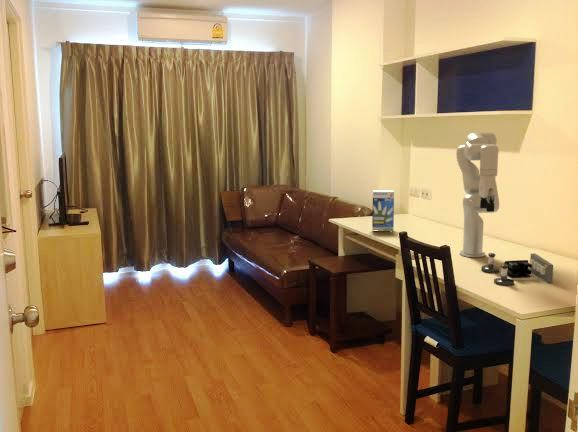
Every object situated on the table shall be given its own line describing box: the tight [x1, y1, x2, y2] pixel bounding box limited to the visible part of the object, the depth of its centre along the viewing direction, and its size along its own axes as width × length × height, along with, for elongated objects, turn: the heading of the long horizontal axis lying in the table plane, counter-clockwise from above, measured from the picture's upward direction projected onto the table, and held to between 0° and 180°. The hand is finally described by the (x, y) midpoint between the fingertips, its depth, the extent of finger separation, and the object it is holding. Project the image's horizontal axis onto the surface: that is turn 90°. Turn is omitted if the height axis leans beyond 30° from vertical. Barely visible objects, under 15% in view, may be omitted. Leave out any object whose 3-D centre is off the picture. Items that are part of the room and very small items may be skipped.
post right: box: [493, 263, 515, 287], centre depth 235 cm, size 8×8×8 cm
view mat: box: [499, 272, 537, 281], centre depth 244 cm, size 10×12×1 cm
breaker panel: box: [529, 253, 554, 284], centre depth 243 cm, size 20×3×8 cm, turn 177°
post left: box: [481, 252, 501, 274], centre depth 253 cm, size 8×8×8 cm
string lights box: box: [371, 189, 395, 232], centre depth 346 cm, size 13×8×26 cm, turn 76°
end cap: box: [503, 259, 533, 278], centre depth 243 cm, size 10×7×7 cm
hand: (486, 209), depth 252 cm, fingers open, 9 cm apart
